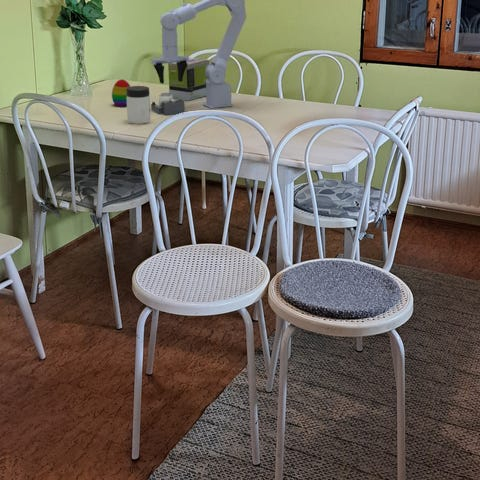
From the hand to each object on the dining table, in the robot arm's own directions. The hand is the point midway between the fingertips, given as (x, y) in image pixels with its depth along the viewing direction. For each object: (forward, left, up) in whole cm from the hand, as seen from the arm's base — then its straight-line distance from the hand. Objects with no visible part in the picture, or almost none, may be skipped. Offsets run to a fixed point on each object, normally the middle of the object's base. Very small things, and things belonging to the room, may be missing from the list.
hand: (171, 82), depth 306 cm
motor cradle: (+3, +6, -10) cm, 12 cm away
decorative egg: (+15, -13, -10) cm, 22 cm away
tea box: (-15, -16, -10) cm, 24 cm away
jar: (+19, +15, -10) cm, 27 cm away
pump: (+3, +2, -10) cm, 11 cm away
